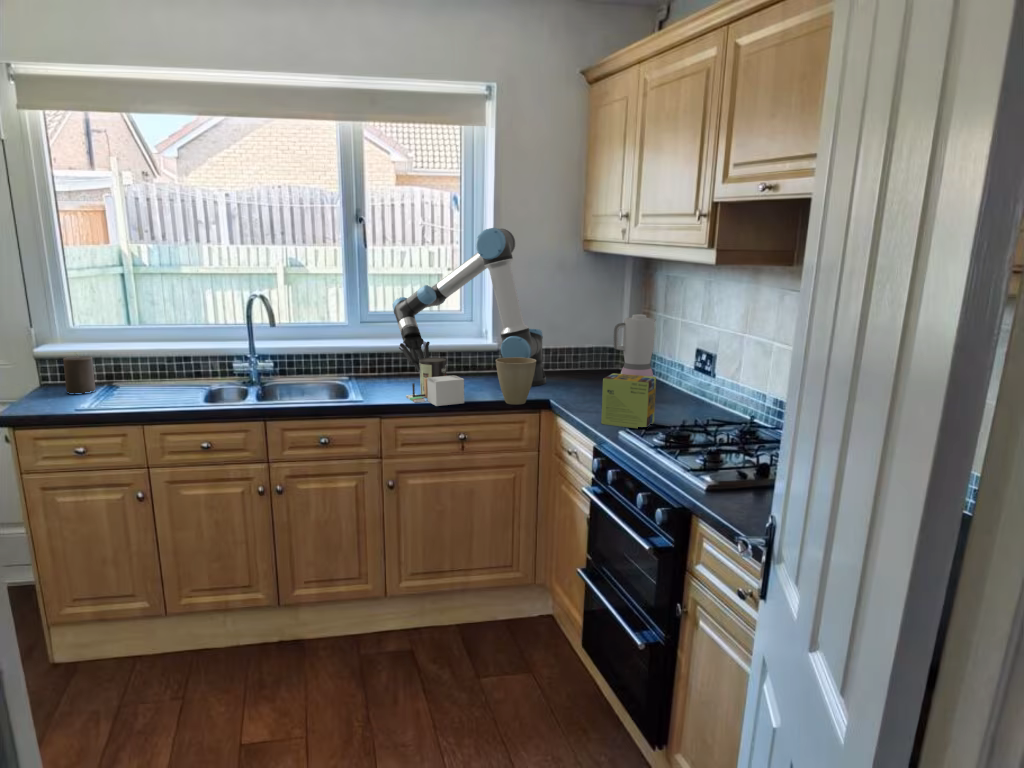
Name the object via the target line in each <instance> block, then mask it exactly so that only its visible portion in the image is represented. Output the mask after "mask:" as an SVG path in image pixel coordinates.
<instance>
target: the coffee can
mask: <svg viewBox="0 0 1024 768" xmlns="http://www.w3.org/2000/svg"><path fill="white" fill-rule="evenodd" d="M419 363H420V372H419V379H420V381H419V383H420V384H419V386H420V395H421V394H424V379H426V378H429V377H440V376H447V359H446V358H443V357H429V358H425V357H424V358H423V359H420V360H419ZM420 397H422V398H424V399H425V397H424V396H420Z"/></svg>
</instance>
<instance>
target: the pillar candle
mask: <svg viewBox="0 0 1024 768" xmlns="http://www.w3.org/2000/svg"><path fill="white" fill-rule="evenodd" d="M62 360H63V371H64V372H63V373H64V379H65V380H64V381H65V390H66V391H67V392H69V393H85V392H90V391H94V390H95V389H96V382H95V379H96V378H95V371H94V362H93V361H94V360H93V356H89V355H88V356H87V355H86V356H85V355H82V356H81V355H76V356H75V355H74V356H67V357H63V359H62ZM67 392H66V393H67Z"/></svg>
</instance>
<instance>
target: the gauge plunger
mask: <svg viewBox="0 0 1024 768" xmlns="http://www.w3.org/2000/svg"><path fill="white" fill-rule="evenodd" d="M415 387H416V386H415V383H412V395H413V397H421V396H424V397H425V398H426V399H428V386H427V378H426V379H424V394H421V393H420V394H416V391H415ZM415 394H416V395H415ZM424 397H423V398H424ZM425 398H424V399H425Z"/></svg>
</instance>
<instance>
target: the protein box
mask: <svg viewBox="0 0 1024 768" xmlns="http://www.w3.org/2000/svg"><path fill="white" fill-rule="evenodd" d="M656 383H657V376H653V377H652V376H639V375H627V374H621V373H615V372H614V373H611V374H609V375H607V376H605V377H603V379H602V393H601V395H602V396H601V397H602V398H601V419H600V420H601V421H600V424H601V425H606V426H614V427H623V428H631V429H638V427H647V426H648V425H650V424H652V425H653V424H655V410H656V409H655V407H656V388H657V387H656V386H657V384H656ZM650 426H651V425H650Z"/></svg>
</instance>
